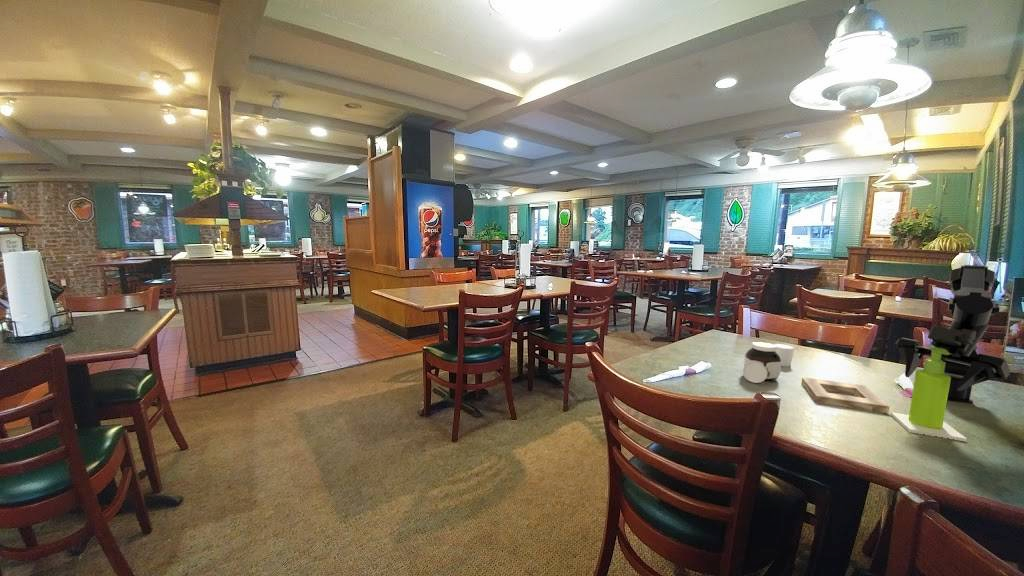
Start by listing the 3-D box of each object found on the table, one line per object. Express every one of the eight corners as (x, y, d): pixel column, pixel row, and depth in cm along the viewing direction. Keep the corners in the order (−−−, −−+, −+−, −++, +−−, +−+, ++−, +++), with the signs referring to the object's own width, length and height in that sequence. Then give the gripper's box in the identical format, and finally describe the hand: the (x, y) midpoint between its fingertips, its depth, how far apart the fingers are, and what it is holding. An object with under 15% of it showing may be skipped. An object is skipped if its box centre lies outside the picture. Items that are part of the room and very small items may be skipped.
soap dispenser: (914, 426, 95) (926, 349, 92) (905, 415, 100) (916, 342, 98) (948, 433, 91) (962, 353, 89) (937, 421, 97) (949, 346, 94)
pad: (941, 422, 98) (941, 419, 98) (966, 441, 89) (966, 438, 89) (890, 414, 102) (890, 412, 102) (909, 432, 93) (909, 429, 93)
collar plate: (864, 391, 118) (865, 385, 117) (888, 413, 103) (889, 406, 103) (801, 383, 124) (802, 377, 124) (815, 402, 110) (816, 395, 110)
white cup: (797, 367, 140) (799, 348, 139) (778, 366, 140) (780, 348, 139) (784, 360, 146) (786, 343, 145) (766, 360, 147) (768, 343, 146)
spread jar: (773, 375, 131) (776, 342, 130) (787, 387, 121) (791, 352, 119) (734, 371, 135) (737, 340, 133) (744, 383, 124) (748, 349, 122)
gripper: (904, 308, 102) (873, 352, 100) (1013, 323, 84) (978, 376, 82) (917, 334, 106) (887, 376, 103) (1023, 353, 88) (990, 405, 86)
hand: (930, 382), depth 94 cm, fingers open, 9 cm apart
